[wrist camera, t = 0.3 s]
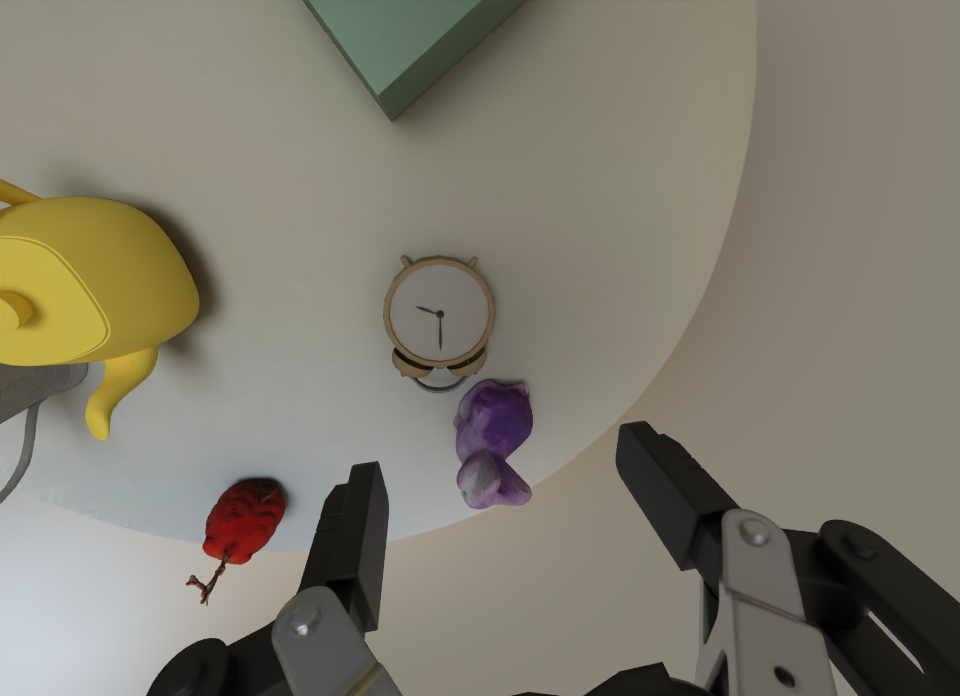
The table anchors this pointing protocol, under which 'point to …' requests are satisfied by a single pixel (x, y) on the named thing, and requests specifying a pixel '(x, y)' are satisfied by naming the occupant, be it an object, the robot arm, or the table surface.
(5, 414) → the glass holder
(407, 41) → the cabinet
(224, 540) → the red fruit with stem
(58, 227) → the teapot
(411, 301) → the alarm clock
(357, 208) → the table surface
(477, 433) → the figurine
